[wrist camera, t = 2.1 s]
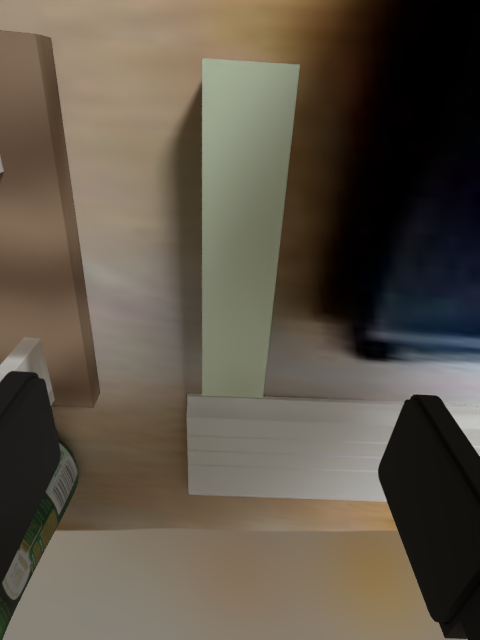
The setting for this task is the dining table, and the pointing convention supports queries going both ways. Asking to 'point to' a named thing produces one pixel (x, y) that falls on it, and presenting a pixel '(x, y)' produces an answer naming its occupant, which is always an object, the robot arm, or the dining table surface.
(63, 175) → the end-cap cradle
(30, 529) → the coffee jar
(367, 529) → the dining table surface
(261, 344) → the pale green long block
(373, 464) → the baseboard molding
